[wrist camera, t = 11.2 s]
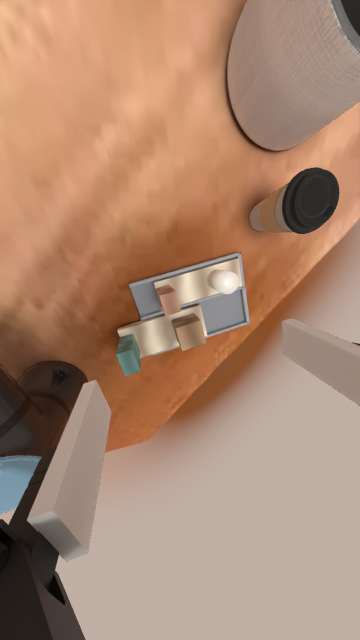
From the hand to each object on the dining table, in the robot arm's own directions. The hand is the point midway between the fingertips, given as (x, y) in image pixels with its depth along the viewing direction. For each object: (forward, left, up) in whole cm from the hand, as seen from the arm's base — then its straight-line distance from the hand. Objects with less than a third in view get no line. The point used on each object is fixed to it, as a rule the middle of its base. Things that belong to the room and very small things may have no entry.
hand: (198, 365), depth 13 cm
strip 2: (-1, -10, -33) cm, 35 cm away
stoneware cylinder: (+14, -1, -30) cm, 33 cm away
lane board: (+8, -6, -33) cm, 35 cm away
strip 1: (+10, -1, -33) cm, 35 cm away
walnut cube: (+4, -10, -30) cm, 32 cm away
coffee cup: (+28, +9, -34) cm, 44 cm away
